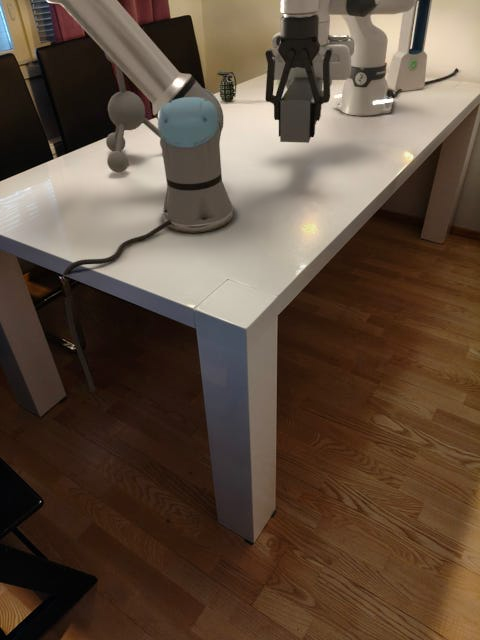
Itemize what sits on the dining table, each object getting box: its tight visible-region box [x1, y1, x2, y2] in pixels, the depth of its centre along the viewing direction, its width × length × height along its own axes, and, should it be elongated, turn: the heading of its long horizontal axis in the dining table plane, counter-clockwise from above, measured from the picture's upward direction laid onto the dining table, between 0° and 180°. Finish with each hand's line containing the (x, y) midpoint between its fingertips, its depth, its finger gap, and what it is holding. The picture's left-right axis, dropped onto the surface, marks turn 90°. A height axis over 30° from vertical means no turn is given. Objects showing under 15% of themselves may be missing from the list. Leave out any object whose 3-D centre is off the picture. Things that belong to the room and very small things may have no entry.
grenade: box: [216, 70, 237, 103], centre depth 181 cm, size 7×6×10 cm
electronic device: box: [386, 0, 433, 92], centre depth 177 cm, size 12×8×30 cm, turn 105°
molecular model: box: [104, 52, 162, 174], centre depth 130 cm, size 24×22×30 cm
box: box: [279, 78, 323, 144], centre depth 114 cm, size 26×6×9 cm, turn 167°
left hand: (296, 134), depth 109 cm, fingers closed on box, 6 cm apart
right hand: (307, 98), depth 122 cm, fingers closed on box, 6 cm apart
